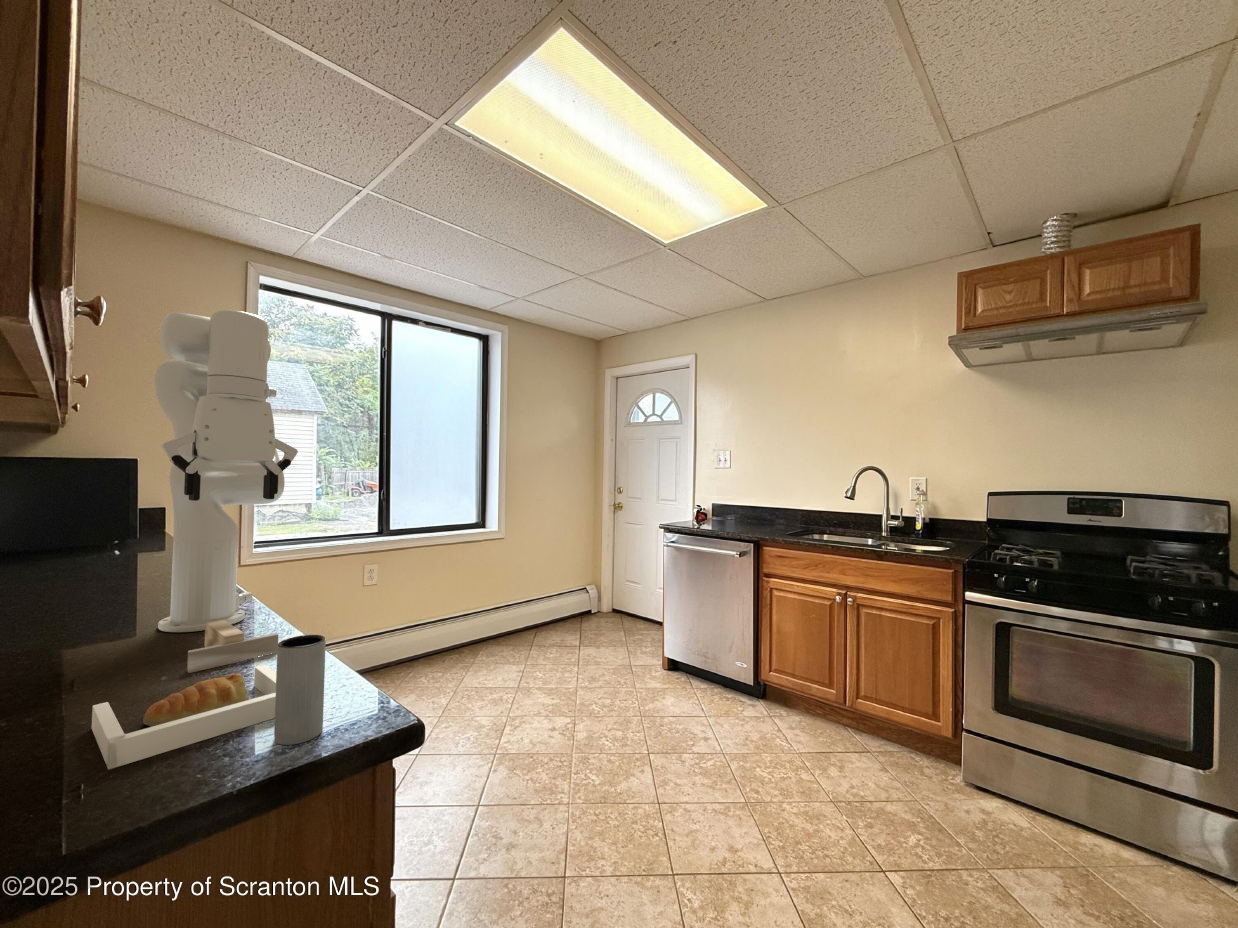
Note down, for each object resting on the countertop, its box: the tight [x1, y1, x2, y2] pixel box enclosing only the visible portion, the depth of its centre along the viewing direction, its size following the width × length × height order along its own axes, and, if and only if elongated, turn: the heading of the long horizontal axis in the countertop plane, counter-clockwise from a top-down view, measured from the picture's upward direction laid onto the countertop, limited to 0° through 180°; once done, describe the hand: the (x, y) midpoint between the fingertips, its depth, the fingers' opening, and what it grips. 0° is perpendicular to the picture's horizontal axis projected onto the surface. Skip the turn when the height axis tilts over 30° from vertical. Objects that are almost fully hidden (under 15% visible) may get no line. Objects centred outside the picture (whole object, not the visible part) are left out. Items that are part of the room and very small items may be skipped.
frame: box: [91, 664, 276, 770], centre depth 59 cm, size 12×16×2 cm
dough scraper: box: [186, 619, 279, 674], centre depth 80 cm, size 12×11×4 cm
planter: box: [273, 634, 327, 746], centre depth 56 cm, size 4×4×10 cm
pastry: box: [142, 672, 250, 727], centre depth 60 cm, size 9×7×4 cm
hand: (233, 499), depth 80 cm, fingers open, 9 cm apart
